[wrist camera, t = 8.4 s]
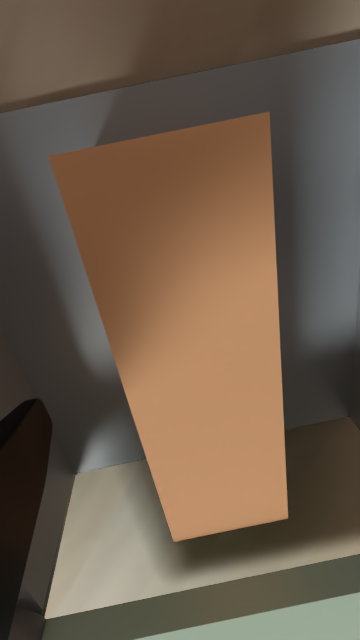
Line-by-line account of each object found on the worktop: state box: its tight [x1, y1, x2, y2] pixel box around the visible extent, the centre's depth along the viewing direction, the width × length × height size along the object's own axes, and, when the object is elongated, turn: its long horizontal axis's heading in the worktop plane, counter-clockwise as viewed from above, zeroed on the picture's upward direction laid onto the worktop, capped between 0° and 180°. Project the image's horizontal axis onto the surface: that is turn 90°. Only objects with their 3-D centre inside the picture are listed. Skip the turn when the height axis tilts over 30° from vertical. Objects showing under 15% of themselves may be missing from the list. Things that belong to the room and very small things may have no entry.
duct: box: [0, 39, 360, 617], centre depth 11 cm, size 17×16×6 cm
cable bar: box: [48, 112, 288, 542], centre depth 11 cm, size 4×12×5 cm, turn 10°
